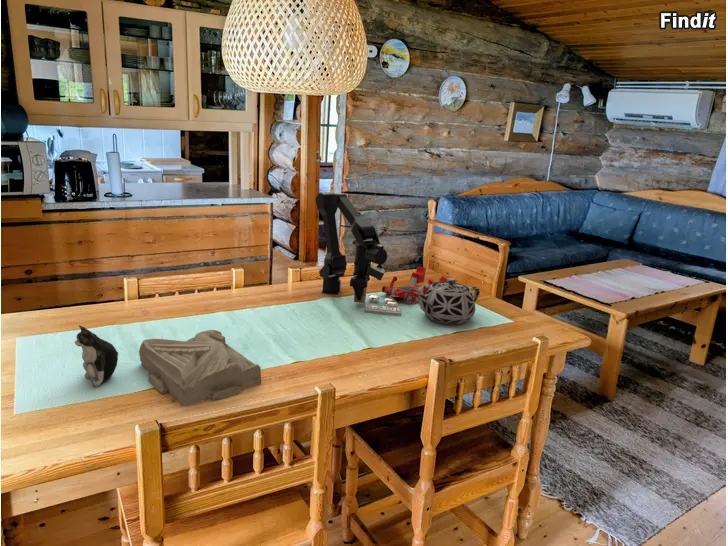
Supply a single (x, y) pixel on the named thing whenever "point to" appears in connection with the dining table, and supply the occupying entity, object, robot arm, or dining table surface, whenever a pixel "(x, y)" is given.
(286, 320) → the dining table surface
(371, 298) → the tealight
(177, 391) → the sculpture
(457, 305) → the teapot
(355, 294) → the block
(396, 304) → the tealight
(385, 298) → the tealight
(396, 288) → the toy robot
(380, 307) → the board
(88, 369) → the figurine
